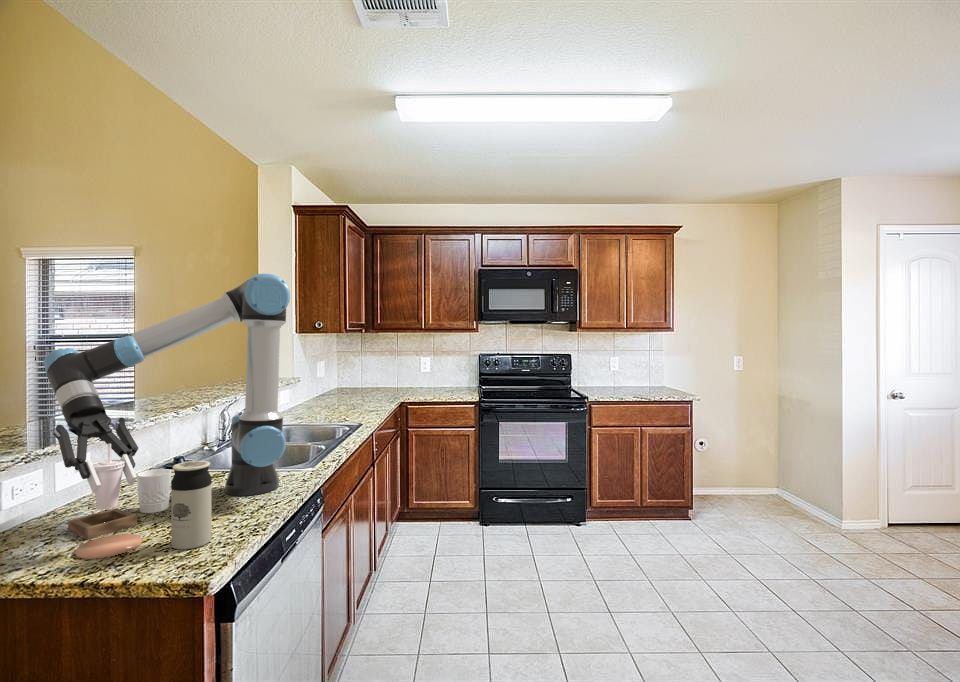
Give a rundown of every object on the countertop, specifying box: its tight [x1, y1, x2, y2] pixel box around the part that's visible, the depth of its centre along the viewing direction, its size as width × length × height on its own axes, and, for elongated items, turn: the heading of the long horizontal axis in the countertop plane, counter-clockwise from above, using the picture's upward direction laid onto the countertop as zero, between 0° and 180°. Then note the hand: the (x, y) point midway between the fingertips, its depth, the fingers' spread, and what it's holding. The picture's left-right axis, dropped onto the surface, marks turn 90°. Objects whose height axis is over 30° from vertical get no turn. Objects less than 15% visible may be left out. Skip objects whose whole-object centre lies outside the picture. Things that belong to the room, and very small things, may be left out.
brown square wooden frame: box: [67, 507, 138, 540], centre depth 127 cm, size 10×10×2 cm
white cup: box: [136, 468, 172, 514], centre depth 141 cm, size 8×8×10 cm
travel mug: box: [170, 460, 212, 550], centre depth 118 cm, size 8×8×18 cm
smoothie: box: [92, 444, 125, 510], centre depth 115 cm, size 6×6×14 cm
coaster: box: [75, 533, 143, 560], centre depth 115 cm, size 12×12×1 cm
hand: (115, 484), depth 113 cm, fingers closed on smoothie, 6 cm apart
